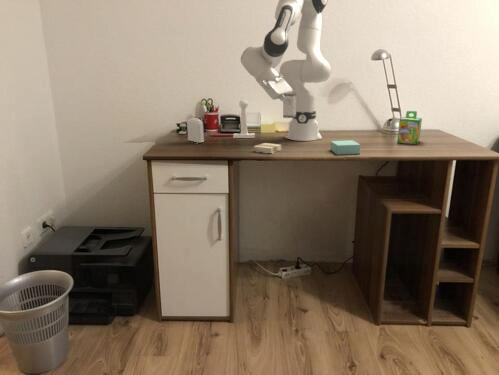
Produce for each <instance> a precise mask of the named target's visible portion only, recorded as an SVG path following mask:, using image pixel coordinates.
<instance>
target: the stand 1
mask: <svg viewBox="0 0 499 375" xmlns="http://www.w3.org/2000/svg"><path fill="white" fill-rule="evenodd" d="M254 151H258V152H257V153H259V152H265V153H264V154H267V153H272V154H275V153H277V151H278V152H279V151H280V152H281V151H282V144H276V143H269V142H268V143H267V142H263V143H259V144H256V145H253V152H254ZM274 152H275V153H274Z"/></svg>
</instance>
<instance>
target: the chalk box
mask: <svg viewBox="0 0 499 375" xmlns="http://www.w3.org/2000/svg"><path fill="white" fill-rule="evenodd" d="M411 114H413V115H412V116H410V115H411ZM417 114H418V112H417V111H416V110H407V111H406V114H405V116H402V117H401V118H399V121H398V123H399V124H398V130H397V131H398V132H397V139H396V140H397V144H408V145H418V144H419V142H420V140H421V139H420V138H421V129H422V122H423V121H422V120H423V118H422V117H417V116H418V115H417Z"/></svg>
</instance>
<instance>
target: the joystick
mask: <svg viewBox="0 0 499 375" xmlns="http://www.w3.org/2000/svg"><path fill="white" fill-rule="evenodd" d="M238 105H239V107H240V109H241V110H240V111H241V113H240V114H241V115H240V117H241V118H240V133H233V139H234V138H254V137H255V138H256V136H255V135H256V133H255V132H253V133H249V132H248V120H247V107H248V105H249V104H248V101H247V100H246V99H241V100H239V103H238Z"/></svg>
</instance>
